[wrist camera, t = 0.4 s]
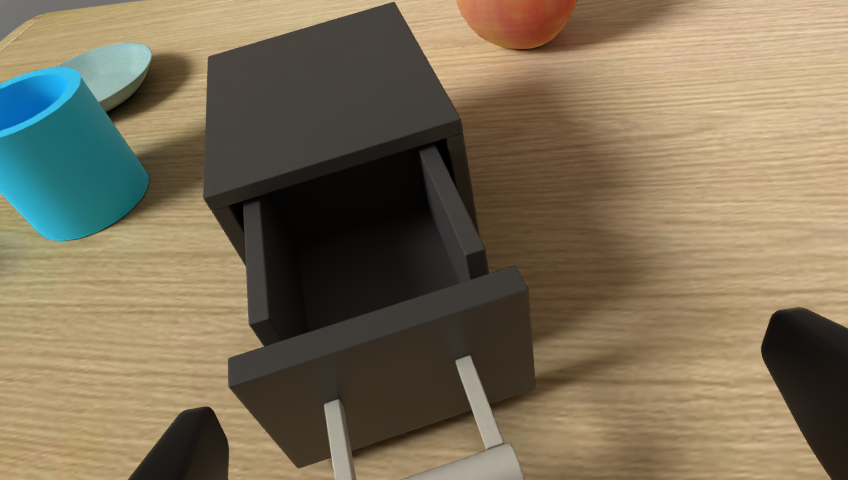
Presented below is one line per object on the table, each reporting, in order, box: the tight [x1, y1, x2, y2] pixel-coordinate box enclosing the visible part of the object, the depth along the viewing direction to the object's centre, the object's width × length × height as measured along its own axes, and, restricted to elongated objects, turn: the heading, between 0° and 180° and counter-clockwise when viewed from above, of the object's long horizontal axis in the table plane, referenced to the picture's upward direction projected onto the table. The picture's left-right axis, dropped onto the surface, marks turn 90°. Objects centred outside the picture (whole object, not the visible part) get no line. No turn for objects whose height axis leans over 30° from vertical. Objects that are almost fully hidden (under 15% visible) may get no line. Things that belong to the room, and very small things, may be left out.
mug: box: [0, 67, 149, 241], centre depth 39 cm, size 12×8×8 cm
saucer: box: [56, 43, 152, 112], centre depth 51 cm, size 12×12×2 cm
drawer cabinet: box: [203, 2, 480, 266], centre depth 32 cm, size 14×12×9 cm
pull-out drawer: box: [228, 142, 536, 480], centre depth 24 cm, size 17×10×7 cm, turn 15°
